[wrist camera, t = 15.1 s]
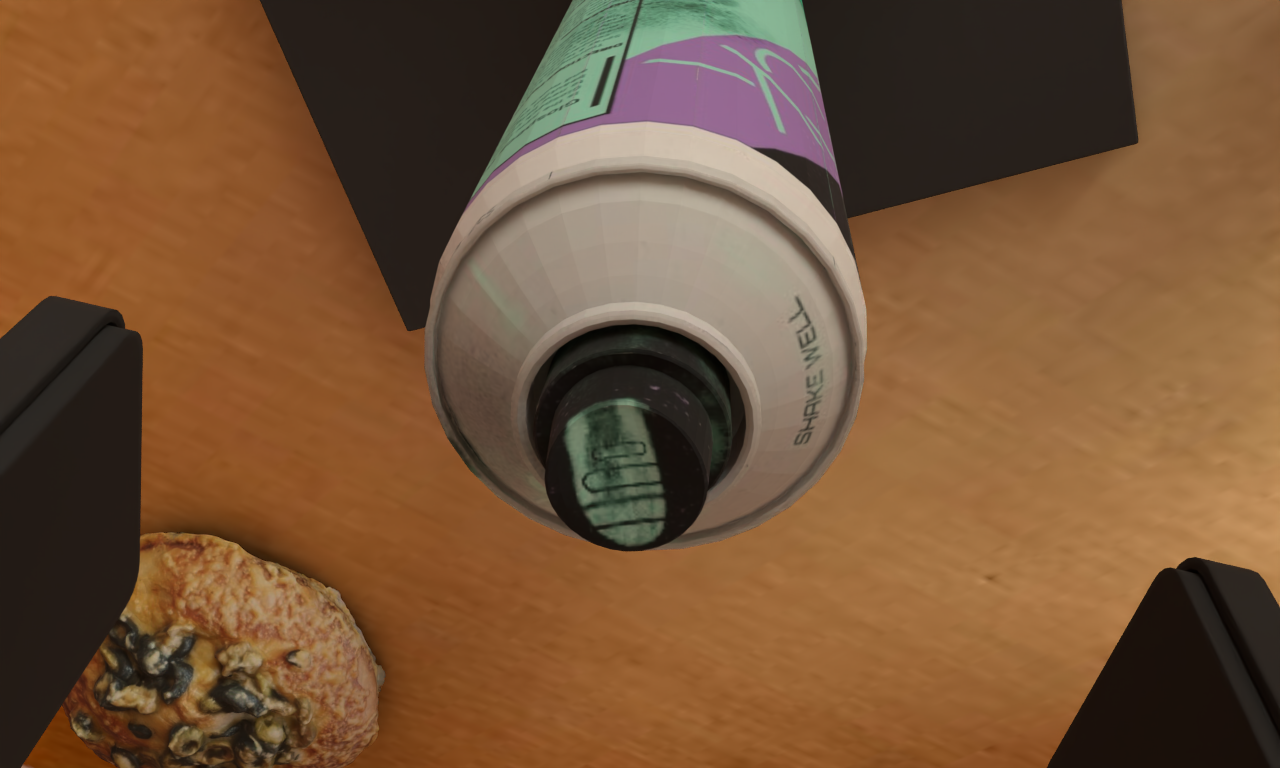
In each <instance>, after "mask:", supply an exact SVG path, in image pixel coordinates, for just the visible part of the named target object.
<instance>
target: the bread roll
mask: <svg viewBox="0 0 1280 768" xmlns="http://www.w3.org/2000/svg"><path fill="white" fill-rule="evenodd" d="M375 660H377V659H376V657H375V656H374V655H373V653H372V652H371V650H370V648H369V647H368V645H367V643H366V641H365V639H364V637H363V634H362V632H361V630H360V629H359V628H358V627H357V626H356V624H355V620H354V619H353V617H352V615H351V614H350V612H349V609H347V608H346V605H345V603H344V602H343V601H342V600H341V596H340V593H339V591H336V590H335V589H332V588H331V587H328V588H326V587H325V586H324V585H323V584H322V583H320V582H318V581H316V580H315V579H313V578H307V577H306V576H305V575H304V574H302V573H299V572H295V571H294V570H290V569H288V568H287V567H283V566H280V565H279V564H278V563H277V562H276V563H273V562H270V561H263V560H261V559H259V558H257V557H254V556H253V555H251V554H249V553H248V552H246V551H245V550H244V549H243V548H241V547H240V546H239V545H238V544H237V543H234V542H230V541H226V540H223V539H221V538H219V537H217V536H212V535H207V534H200V535H196V534H188V533H184V532H180V533H179V534H178V533H173V532H168V533H163V532H159V533H153V534H151V533H146V534H144V535H142V536H141V537H140V565H139V573H138V578H137V582H136V585H135V588H134V591H133V594H132V596H131V598H130V600H129V602H128V604H127V606H126V608H125V609H124V611H123V612H122V614H121V615H120V617H119V618H118V620H117V621H116V623H115V624H114V626H113V627H112V629H111V631H110V632H109V634H108V635H107V637H106V638H105V640H104V641H103V643H102V644H101V646H100V647H99V649H98V650H97V652H96V653H95V655H94V656H93V658H92V660H91V661H90V663H89V664H88V666H87V667H86V669H85V670H84V672H83V673H82V675H81V676H80V678H79V679H78V681H77V682H76V684H75V686H74V687H73V689H72V690H71V692H70V693H69V695H68V696H67V698H66V699H65V701H64V702H63V704H62V707H63V708H64V711H65V714H66V715H67V717H68V718H69V722H70V727H71V729H72V730H73V731H74V732H75V733H76V734H77V736H78V737H79V738H80V739H81V740H82V741H83V742H84V743H85V744H86V746H87V747H88V748H90V749H92V750H93V751H94V753H95V754H96V755H97V756H99V757H100V758H101V759H103V760H105V761H107V762H109V763H111V764H113V765H115V766H116V767H118V768H342V767H344V766H346V765H348V764H350V763H352V762H353V761H354V760H355V758H356V757H357V756H358V755H359V754H360V753H361V752H362V751H363V750H364V749H366V748H367V747H369V746H370V745H371V744H372V743H373V742H374V741H375V740H376V738H377V736H378V733H377V732H378V730H379V726H378V723H377V718H378V709H377V705H378V703H379V701H378V692H380V691H381V686H382V685H383V683H384V678H385V671H384V670H382V667H381V665H377V664H376V663H375Z"/></svg>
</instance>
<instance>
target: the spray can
mask: <svg viewBox="0 0 1280 768" xmlns="http://www.w3.org/2000/svg"><path fill="white" fill-rule="evenodd" d="M866 351H867V322H866V306H865V301H864V296H863V291H862V287H861V282H860V277H859V272H858V267H857V263H856V258H855V253H854V248H853V243H852V239H851V234H850V229H849V224H848V219H847V214H846V210H845V205H844V200H843V195H842V190H841V186H840V181H839V176H838V171H837V166H836V162H835V157H834V152H833V147H832V142H831V138H830V133H829V128H828V123H827V118H826V114H825V109H824V104H823V99H822V94H821V90H820V85H819V80H818V75H817V70H816V65H815V61H814V56H813V51H812V46H811V41H810V37H809V32H808V27H807V22H806V17H805V13H804V8H803V3H802V0H573V1H572V2H571V4H570V6H569V8H568V10H567V12H566V14H565V16H564V18H563V20H562V22H561V24H560V26H559V28H558V30H557V32H556V34H555V35H554V37H553V39H552V41H551V43H550V45H549V47H548V49H547V51H546V53H545V55H544V57H543V59H542V61H541V63H540V65H539V67H538V69H537V70H536V72H535V74H534V76H533V78H532V80H531V82H530V84H529V86H528V88H527V90H526V92H525V94H524V96H523V98H522V100H521V102H520V103H519V105H518V107H517V109H516V111H515V113H514V115H513V117H512V119H511V121H510V123H509V125H508V127H507V129H506V131H505V133H504V135H503V136H502V138H501V140H500V142H499V144H498V146H497V148H496V150H495V152H494V154H493V156H492V158H491V160H490V162H489V164H488V166H487V168H486V170H485V171H484V173H483V175H482V177H481V179H480V181H479V183H478V185H477V187H476V189H475V191H474V193H473V195H472V197H471V199H470V201H469V203H468V204H467V206H466V208H465V210H464V212H463V214H462V216H461V218H460V220H459V222H458V224H457V226H456V228H455V230H454V232H453V234H452V236H451V238H450V240H449V242H448V244H447V246H446V249H445V251H444V253H443V255H442V257H441V259H440V261H439V264H438V269H437V273H436V277H435V281H434V286H433V290H432V294H431V299H430V310H429V314H428V318H427V323H426V327H425V372H426V377H427V382H428V386H429V391H430V395H431V400H432V405H433V407H434V409H435V411H436V414H437V416H438V418H439V420H440V422H441V425H442V427H443V429H444V431H445V434H446V436H447V438H448V440H449V441H450V443H451V444H452V445H453V447H454V448H455V450H456V451H457V453H458V454H459V455H460V457H461V458H462V460H463V461H464V462H465V464H466V465H467V467H468V468H469V470H470V471H471V472H472V473H473V474H474V475H476V476H477V477H478V478H479V479H480V480H481V481H482V482H483V483H484V484H485V485H486V486H487V487H488V488H489V489H490V490H491V491H492V492H493V493H494V494H495V495H496V496H497V497H498V498H500V499H501V500H503V501H504V502H506V503H507V504H509V505H510V506H512V507H513V508H515V509H516V510H518V511H519V512H520V513H522V514H523V515H525V516H526V517H528V518H529V519H531V520H533V521H536V522H538V523H540V524H542V525H544V526H546V527H549V528H551V529H553V530H555V531H557V532H559V533H562V534H564V535H566V536H570V537H573V538H577V539H581V540H584V541H588V542H591V543H593V544H596V545H599V546H602V547H605V548H608V549H612V550H620V551H644V550H667V549H684V548H689V547H694V546H699V545H703V544H708V543H713V542H718V541H722V540H724V539H727V538H730V537H732V536H735V535H737V534H740V533H743V532H745V531H748V530H750V529H753V528H755V527H758V526H759V525H761V524H763V523H764V522H766V521H768V520H769V519H771V518H772V517H774V516H776V515H777V514H779V513H781V512H782V511H784V510H786V509H787V508H789V507H790V506H791V505H793V504H794V503H795V502H796V501H797V500H798V499H799V498H800V497H801V496H803V495H804V494H805V493H806V492H807V491H808V490H809V489H810V488H812V487H813V486H814V485H815V484H816V483H817V482H818V481H819V480H820V478H821V477H822V476H823V474H824V473H825V472H826V470H827V469H828V468H829V466H830V465H831V464H832V462H833V461H834V460H835V458H836V457H837V456H838V454H839V453H840V451H841V449H842V447H843V445H844V443H845V441H846V438H847V436H848V434H849V432H850V430H851V428H852V425H853V423H854V421H855V419H856V416H857V411H858V406H859V402H860V397H861V392H862V388H863V383H864V361H865V356H866Z"/></svg>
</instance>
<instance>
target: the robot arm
mask: <svg viewBox="0 0 1280 768" xmlns="http://www.w3.org/2000/svg"><path fill="white" fill-rule="evenodd" d="M142 368H143V346H142V339H141V336H140V334H139V333H138V332H136V331H132V330H128V329H125V323H124V320H123V317H122V314H120V313H119V312H118V311H117V310H114V309H109V308H105V307H101V306H96V305H92V304H88V303H83V302H79V301H74V300H70V299H66V298H61V297H57V296H49V297H48V298H46V299H44V300H43V301H41V302H40V303H39V304H38V305H37V306H36V307H35V308H34V309H33V310H31V311H30V312H29V313H28V314H27V315H26V316H25V317H24V318H23V319H22V320H20V321H19V322H18V323H17V324H16V325H15V326H14V327H13V328H12V329H11V330H9V331H8V332H7V333H6V334H5V335H4V336H3V337H2V338H1V339H0V768H21V766H22V765H23V763H24V762H25V760H26V759H27V757H28V756H29V754H30V753H31V751H32V750H33V748H34V747H35V745H36V744H37V742H38V741H39V739H40V737H41V736H42V734H43V733H44V731H45V730H46V728H47V727H48V725H49V724H50V722H51V721H52V719H53V718H54V716H55V715H56V713H57V711H58V710H59V708H60V707H61V705H62V704H63V702H64V701H65V699H66V698H67V696H68V695H69V693H70V692H71V690H72V689H73V687H74V686H75V684H76V682H77V681H78V679H79V678H80V676H81V675H82V673H83V672H84V670H85V669H86V667H87V666H88V664H89V663H90V661H91V660H92V658H93V656H94V655H95V653H96V652H97V650H98V649H99V647H100V646H101V644H102V643H103V641H104V640H105V638H106V637H107V635H108V634H109V632H110V631H111V629H112V627H113V626H114V624H115V623H116V621H117V620H118V618H119V617H120V615H121V614H122V612H123V611H124V609H125V608H126V606H127V604H128V602H129V600H130V598H131V596H132V594H133V591H134V588H135V585H136V582H137V578H138V573H139V565H140V509H141V439H142ZM1047 768H1280V607H1279V605H1278V604H1277V602H1276V600H1275V598H1274V596H1273V595H1272V593H1271V591H1270V589H1269V588H1268V586H1267V584H1266V582H1265V581H1264V579H1263V578H1262V577H1261V576H1260V575H1259V573H1257V572H1254V571H1252V570H1249V569H1245V568H1240V567H1236V566H1231V565H1227V564H1223V563H1218V562H1214V561H1210V560H1205V559H1201V558H1197V557H1193V558H1188V559H1186V560H1185V561H1183V562H1182V563H1181V564H1179V566H1178V567H1177V568H1176V569H1174V568H1165V569H1163V570H1162V571H1161V572H1159V574H1158V575H1157V576H1156V578H1155V579H1154V581H1153V582H1152V584H1151V586H1150V588H1149V589H1148V591H1147V593H1146V595H1145V596H1144V598H1143V600H1142V602H1141V603H1140V605H1139V607H1138V608H1137V610H1136V612H1135V614H1134V615H1133V617H1132V619H1131V621H1130V622H1129V624H1128V626H1127V628H1126V629H1125V631H1124V633H1123V635H1122V636H1121V638H1120V640H1119V642H1118V643H1117V645H1116V647H1115V649H1114V650H1113V652H1112V654H1111V656H1110V657H1109V659H1108V661H1107V663H1106V664H1105V666H1104V668H1103V670H1102V671H1101V673H1100V675H1099V677H1098V678H1097V680H1096V682H1095V684H1094V685H1093V687H1092V689H1091V691H1090V692H1089V694H1088V696H1087V698H1086V699H1085V701H1084V703H1083V705H1082V706H1081V708H1080V710H1079V711H1078V713H1077V715H1076V717H1075V718H1074V720H1073V722H1072V724H1071V725H1070V727H1069V729H1068V731H1067V732H1066V734H1065V736H1064V738H1063V739H1062V741H1061V743H1060V745H1059V746H1058V748H1057V750H1056V752H1055V753H1054V755H1053V757H1052V759H1051V760H1050V762H1049V764H1048V767H1047Z"/></svg>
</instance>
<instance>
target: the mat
mask: <svg viewBox="0 0 1280 768" xmlns="http://www.w3.org/2000/svg"><path fill="white" fill-rule="evenodd" d="M572 1H573V0H260V2H261V4H262V6H263V9H264V11H265V13H266V15H267V17H268V20H269V22H270V24H271V26H272V29H273V31H274V33H275V35H276V38H277V40H278V42H279V44H280V47H281V49H282V51H283V53H284V56H285V58H286V60H287V62H288V64H289V67H290V69H291V71H292V73H293V76H294V78H295V80H296V82H297V85H298V87H299V89H300V91H301V94H302V96H303V98H304V100H305V103H306V105H307V107H308V109H309V111H310V114H311V116H312V118H313V120H314V123H315V125H316V127H317V129H318V132H319V134H320V136H321V138H322V141H323V143H324V145H325V147H326V150H327V152H328V154H329V156H330V158H331V161H332V163H333V165H334V167H335V170H336V172H337V174H338V176H339V179H340V181H341V183H342V185H343V188H344V190H345V192H346V194H347V197H348V199H349V201H350V203H351V205H352V208H353V210H354V212H355V214H356V217H357V219H358V221H359V223H360V226H361V228H362V230H363V232H364V235H365V237H366V239H367V241H368V244H369V246H370V248H371V250H372V252H373V255H374V257H375V259H376V261H377V264H378V266H379V268H380V270H381V273H382V275H383V277H384V279H385V282H386V284H387V286H388V288H389V291H390V293H391V295H392V297H393V299H394V302H395V304H396V306H397V308H398V311H399V313H400V315H401V317H402V320H403V322H404V324H405V326H406V329H407V330H408V331H413V330H417V329H420V328H424V327H426V323H427V318H428V314H429V310H430V299H431V294H432V290H433V286H434V281H435V277H436V273H437V269H438V264H439V261H440V259H441V257H442V255H443V253H444V251H445V249H446V246H447V244H448V242H449V240H450V238H451V236H452V234H453V232H454V230H455V228H456V226H457V224H458V222H459V220H460V218H461V216H462V214H463V212H464V210H465V208H466V206H467V204H468V203H469V201H470V199H471V197H472V195H473V193H474V191H475V189H476V187H477V185H478V183H479V181H480V179H481V177H482V175H483V173H484V171H485V170H486V168H487V166H488V164H489V162H490V160H491V158H492V156H493V154H494V152H495V150H496V148H497V146H498V144H499V142H500V140H501V138H502V136H503V135H504V133H505V131H506V129H507V127H508V125H509V123H510V121H511V119H512V117H513V115H514V113H515V111H516V109H517V107H518V105H519V103H520V102H521V100H522V98H523V96H524V94H525V92H526V90H527V88H528V86H529V84H530V82H531V80H532V78H533V76H534V74H535V72H536V70H537V69H538V67H539V65H540V63H541V61H542V59H543V57H544V55H545V53H546V51H547V49H548V47H549V45H550V43H551V41H552V39H553V37H554V35H555V34H556V32H557V30H558V28H559V26H560V24H561V22H562V20H563V18H564V16H565V14H566V12H567V10H568V8H569V6H570V4H571V2H572ZM802 3H803V8H804V13H805V17H806V22H807V27H808V32H809V37H810V41H811V46H812V51H813V56H814V61H815V65H816V70H817V75H818V80H819V85H820V90H821V94H822V99H823V104H824V109H825V114H826V118H827V123H828V128H829V133H830V138H831V142H832V147H833V152H834V157H835V162H836V166H837V171H838V176H839V181H840V186H841V190H842V195H843V200H844V205H845V210H846V214H847V218H851V217H854V216H858V215H862V214H866V213H870V212H874V211H878V210H882V209H885V208H889V207H893V206H897V205H901V204H905V203H909V202H913V201H916V200H920V199H924V198H928V197H932V196H936V195H940V194H944V193H947V192H951V191H955V190H959V189H963V188H967V187H971V186H975V185H978V184H982V183H986V182H990V181H994V180H998V179H1002V178H1006V177H1009V176H1013V175H1017V174H1021V173H1025V172H1029V171H1033V170H1037V169H1040V168H1044V167H1048V166H1052V165H1056V164H1060V163H1064V162H1068V161H1071V160H1075V159H1079V158H1083V157H1087V156H1091V155H1095V154H1099V153H1102V152H1106V151H1110V150H1114V149H1118V148H1122V147H1126V146H1130V145H1133V144H1136V143H1138V132H1137V124H1136V116H1135V108H1134V99H1133V91H1132V83H1131V74H1130V66H1129V58H1128V50H1127V41H1126V33H1125V25H1124V16H1123V8H1122V0H802Z"/></svg>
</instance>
